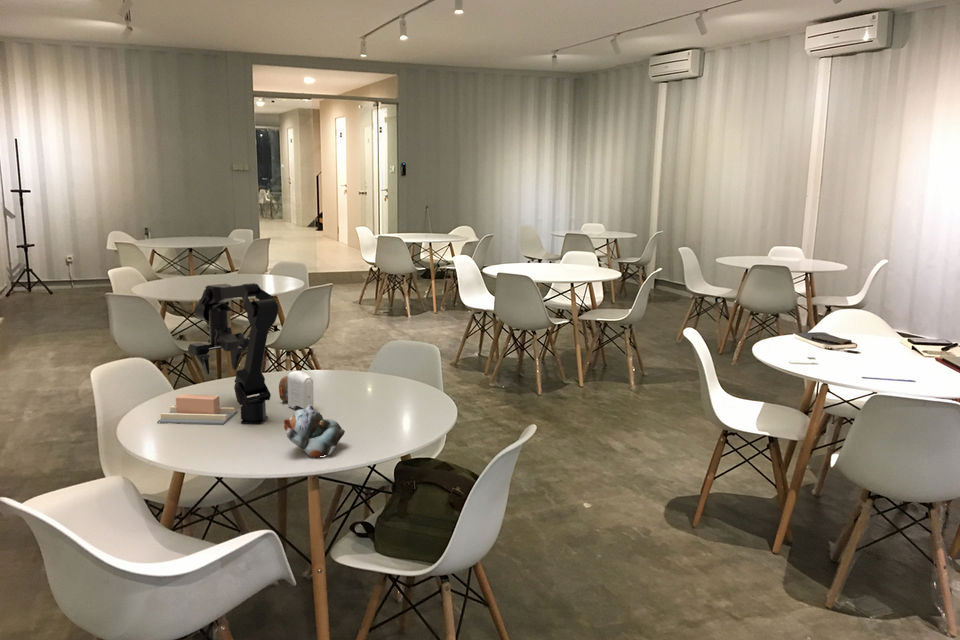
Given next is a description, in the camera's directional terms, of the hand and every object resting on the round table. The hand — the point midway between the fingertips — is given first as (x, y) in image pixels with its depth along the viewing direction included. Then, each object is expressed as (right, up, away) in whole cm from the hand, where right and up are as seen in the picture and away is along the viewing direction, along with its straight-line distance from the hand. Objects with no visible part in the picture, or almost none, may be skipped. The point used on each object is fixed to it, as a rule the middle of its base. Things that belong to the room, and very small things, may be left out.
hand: (221, 371), depth 243 cm
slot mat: (-4, -14, -8) cm, 16 cm away
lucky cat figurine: (+37, -20, -34) cm, 54 cm away
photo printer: (+25, -12, +3) cm, 28 cm away
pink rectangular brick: (-4, -13, -8) cm, 16 cm away
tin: (+19, -10, +15) cm, 26 cm away
